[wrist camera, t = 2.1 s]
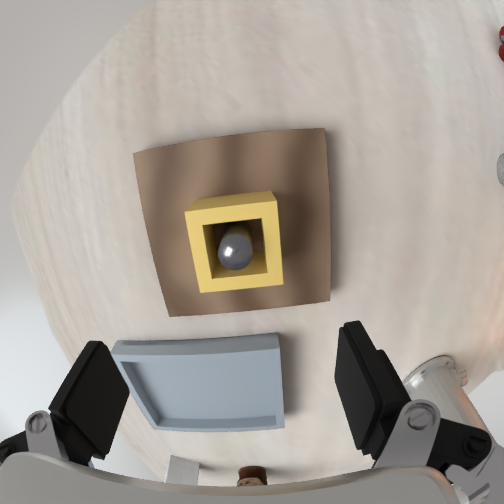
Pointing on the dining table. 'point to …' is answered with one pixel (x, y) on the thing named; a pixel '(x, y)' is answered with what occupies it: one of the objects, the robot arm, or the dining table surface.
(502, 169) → the house plant
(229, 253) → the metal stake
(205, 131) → the dining table surface
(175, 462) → the grey house shaped block
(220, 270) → the collar
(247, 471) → the coffee cup
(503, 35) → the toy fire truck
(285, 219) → the board
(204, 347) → the tray
